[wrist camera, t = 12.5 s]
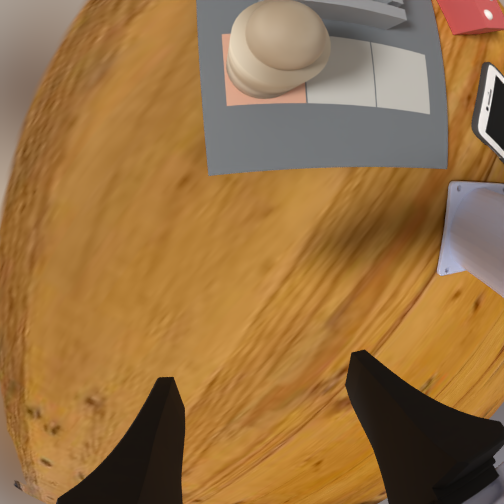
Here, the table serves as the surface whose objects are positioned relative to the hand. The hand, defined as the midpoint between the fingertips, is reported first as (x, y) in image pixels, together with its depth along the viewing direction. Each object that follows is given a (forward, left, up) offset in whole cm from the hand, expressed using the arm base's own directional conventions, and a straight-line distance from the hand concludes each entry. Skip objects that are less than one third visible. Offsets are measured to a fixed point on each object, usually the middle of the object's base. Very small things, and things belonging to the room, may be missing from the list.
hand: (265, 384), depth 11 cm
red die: (-19, -21, -9) cm, 30 cm away
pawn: (-2, -13, -8) cm, 16 cm away
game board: (-7, -16, -9) cm, 20 cm away
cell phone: (-27, -11, -10) cm, 31 cm away
